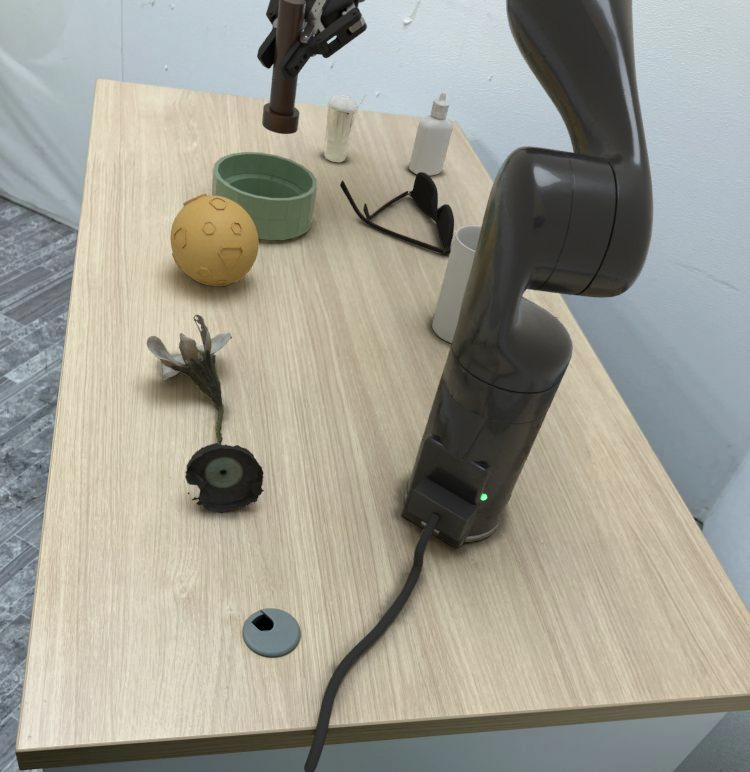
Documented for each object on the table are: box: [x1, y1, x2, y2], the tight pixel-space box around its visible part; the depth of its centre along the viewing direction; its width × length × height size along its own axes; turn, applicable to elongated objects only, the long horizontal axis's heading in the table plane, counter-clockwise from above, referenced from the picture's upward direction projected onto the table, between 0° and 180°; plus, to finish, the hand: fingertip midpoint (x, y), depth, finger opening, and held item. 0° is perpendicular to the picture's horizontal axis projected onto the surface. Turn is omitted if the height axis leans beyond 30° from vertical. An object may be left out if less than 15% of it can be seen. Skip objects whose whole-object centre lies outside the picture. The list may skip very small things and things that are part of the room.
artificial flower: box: [146, 314, 265, 514], centre depth 75 cm, size 9×22×10 cm, turn 11°
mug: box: [431, 224, 482, 344], centre depth 95 cm, size 10×7×12 cm, turn 1°
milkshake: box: [323, 94, 367, 163], centre depth 122 cm, size 4×5×10 cm
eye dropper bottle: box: [408, 91, 454, 177], centre depth 125 cm, size 4×6×12 cm
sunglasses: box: [339, 172, 455, 255], centre depth 112 cm, size 17×14×5 cm
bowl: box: [211, 151, 318, 241], centre depth 106 cm, size 13×13×6 cm
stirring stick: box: [261, 0, 306, 135], centre depth 95 cm, size 4×4×14 cm
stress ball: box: [169, 193, 260, 287], centre depth 92 cm, size 10×10×10 cm
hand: (273, 68), depth 94 cm, fingers closed on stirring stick, 3 cm apart
